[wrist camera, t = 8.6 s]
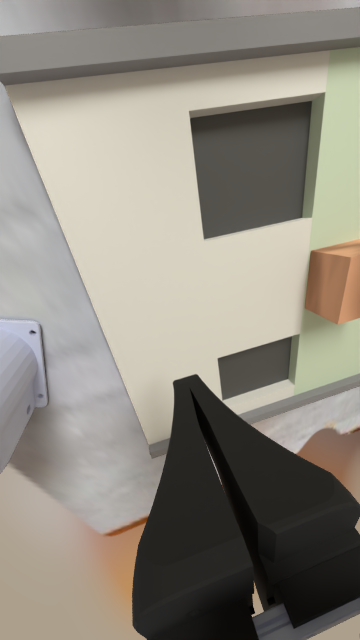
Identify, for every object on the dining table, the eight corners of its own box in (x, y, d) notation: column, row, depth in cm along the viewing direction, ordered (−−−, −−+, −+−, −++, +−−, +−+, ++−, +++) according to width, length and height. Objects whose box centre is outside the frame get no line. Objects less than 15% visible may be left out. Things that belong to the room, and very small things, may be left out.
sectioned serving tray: (150, 439, 28) (152, 458, 26) (5, 71, 12) (-22, 37, 10) (374, 364, 32) (392, 374, 30) (484, 23, 16) (540, -8, 14)
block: (304, 308, 22) (337, 324, 19) (310, 250, 20) (351, 257, 16) (352, 294, 23) (393, 308, 20) (364, 237, 20) (414, 241, 17)
